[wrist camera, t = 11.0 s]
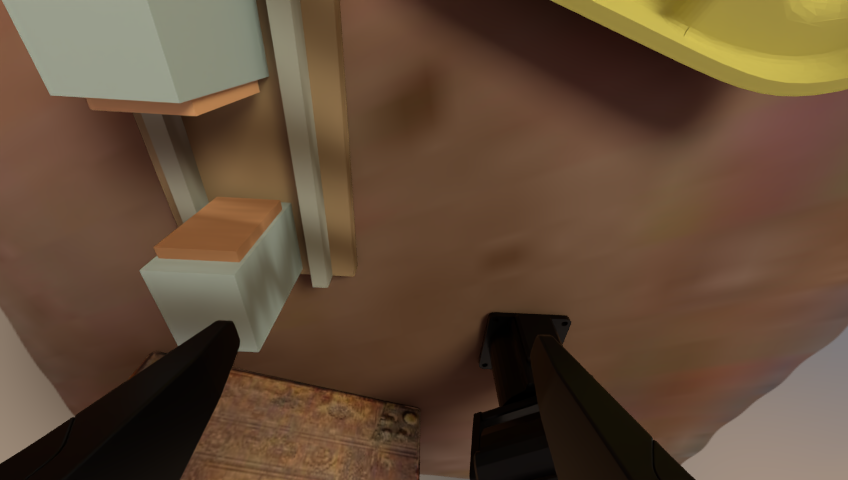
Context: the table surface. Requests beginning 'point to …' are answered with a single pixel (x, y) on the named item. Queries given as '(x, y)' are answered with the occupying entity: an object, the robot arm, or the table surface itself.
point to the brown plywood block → (302, 433)
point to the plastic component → (739, 39)
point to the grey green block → (145, 52)
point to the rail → (258, 184)
